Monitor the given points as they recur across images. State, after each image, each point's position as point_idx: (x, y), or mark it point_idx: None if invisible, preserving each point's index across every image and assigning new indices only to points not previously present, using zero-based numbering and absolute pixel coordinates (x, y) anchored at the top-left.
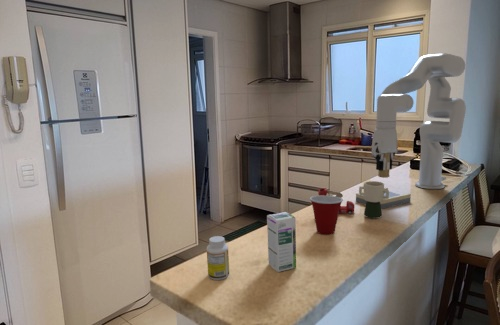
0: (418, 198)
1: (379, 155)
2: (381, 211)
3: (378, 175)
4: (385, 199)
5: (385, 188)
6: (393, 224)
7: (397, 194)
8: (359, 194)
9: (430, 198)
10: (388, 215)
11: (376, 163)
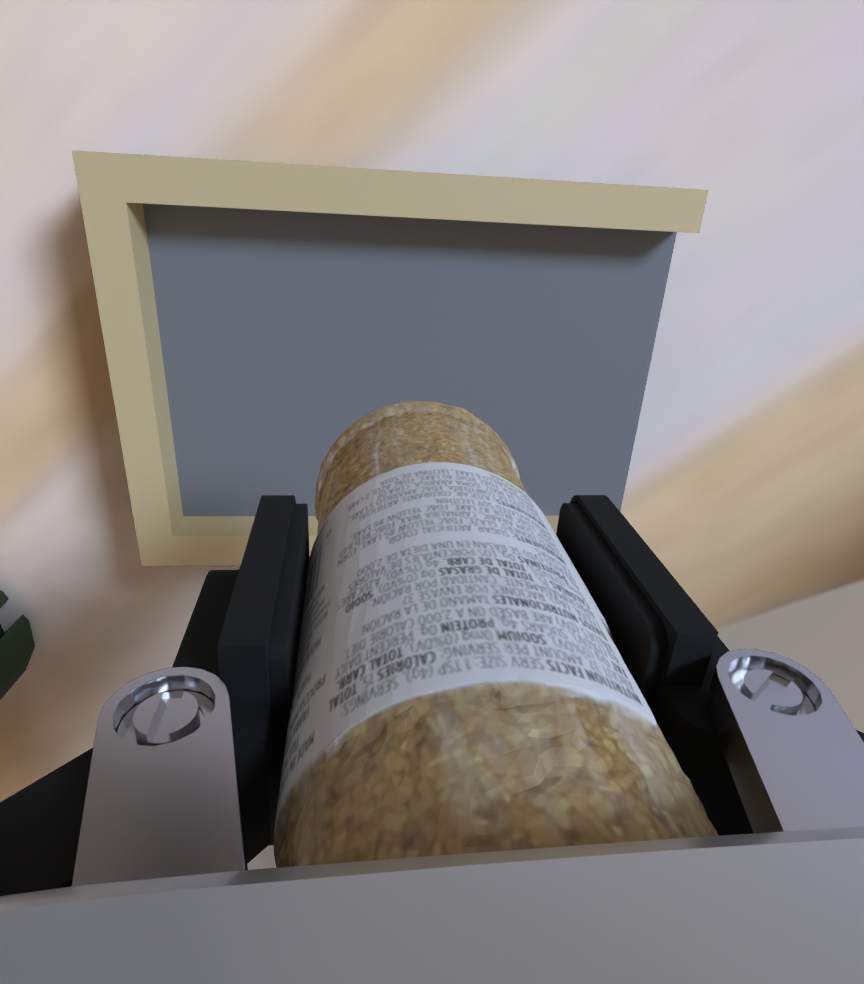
0: (762, 485)
1: (289, 856)
2: (2, 696)
3: (326, 460)
4: (235, 562)
5: (650, 228)
6: (17, 778)
7: (622, 400)
8: (87, 228)
9: (829, 539)
10: (123, 653)
11: (237, 579)
